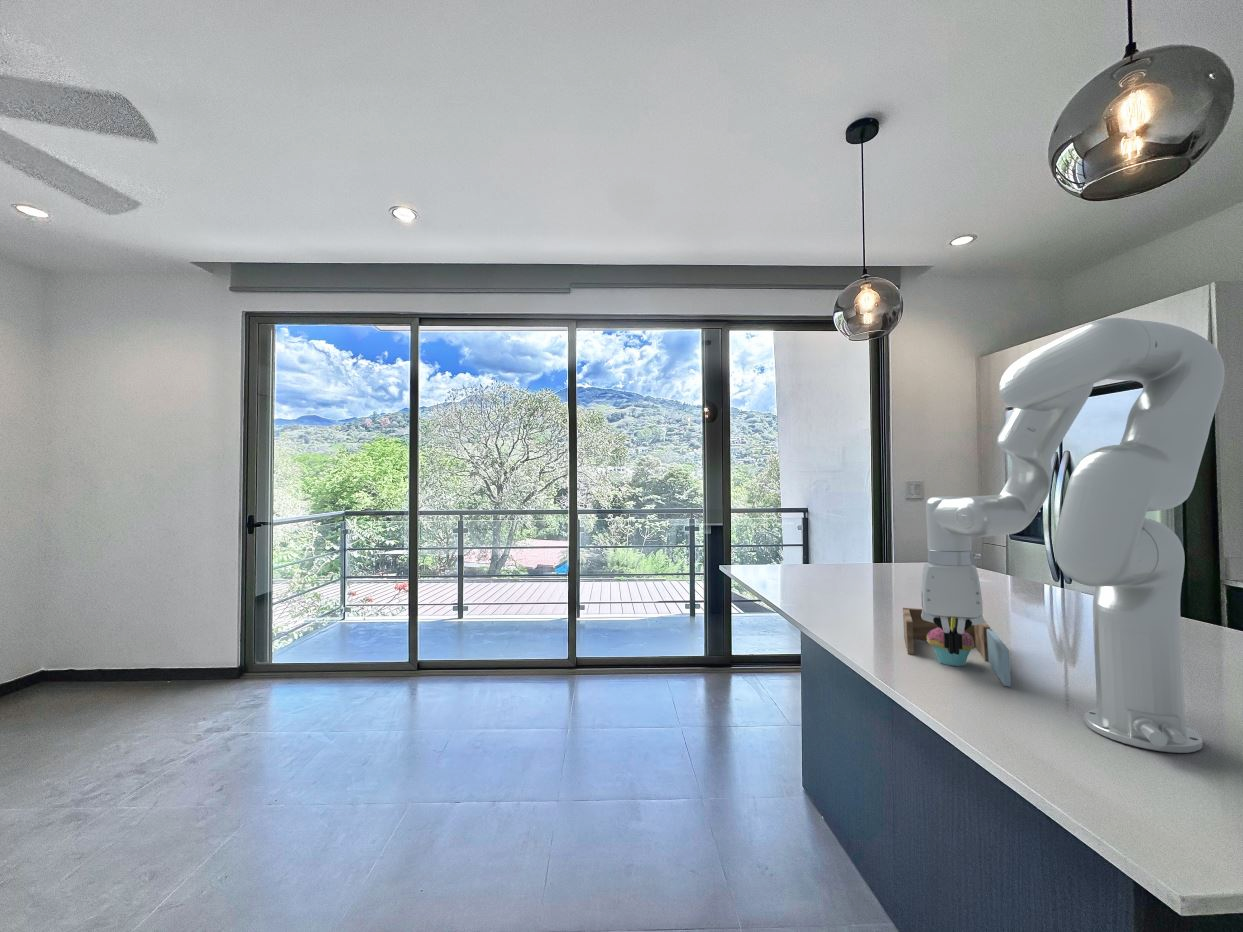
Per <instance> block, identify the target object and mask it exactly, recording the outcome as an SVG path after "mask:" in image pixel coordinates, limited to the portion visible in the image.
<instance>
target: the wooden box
mask: <svg viewBox="0 0 1243 932" xmlns="http://www.w3.org/2000/svg"><path fill="white" fill-rule="evenodd" d="M922 610H923V608H915V607H914V608H913V607H903V608H902V618H903V637H904V638H903V639H904V643H905V644H904V645H905V648H906V653H907V652H908V653H909V654H908V653H907V654H908V655H913V654H914V655H915V648H914V646H915V645H914V640H916V639H917V640H919V641H920V640H921V641H927V634H928V632H930V631H931V630H933V629H935V628H938V626H937V625H936V624H935V623H933V622H929V621H925V620H923V619H922V618H921V614H922ZM947 618H948V623H949V627H951V617H947ZM955 621H956V618H955ZM987 629H991V627H990V625H989V624H988V623H987V621H986V620H985V619H984V624H980V625H972V626H970V627H969V628H968V629H967V630H965V632H967V633H969V634H970V636H972V638H973V640H974V647H975V648H976V650H977V651H978V653H979V654H980V656H981V657H982V659H983V660H984V662H988V663H989V661H988V650H987Z"/></svg>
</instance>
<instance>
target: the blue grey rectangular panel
mask: <svg viewBox="0 0 1243 932" xmlns="http://www.w3.org/2000/svg"><path fill="white" fill-rule="evenodd" d="M987 650H988V661H989V662H988V661H987V662H988V663H989V664H990V666H991V668H992V670H993V671H994V672H995V674H996V675H997V677H998V678H999V680H1000V681H1001V683H1002V684H1003V686H1005V687H1011V686H1012V683H1011V682H1012V680H1011V662H1010V658H1011V657H1010V649H1009V648H1008V647H1007V646H1006V644H1005V643H1004V642H1003V641H1002V639H1001V638H1000V637H999V636H998V635H997V633H996V632H995V631H994V630H993V629H992V628H990V629H987Z"/></svg>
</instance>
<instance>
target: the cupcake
mask: <svg viewBox="0 0 1243 932" xmlns="http://www.w3.org/2000/svg"><path fill="white" fill-rule="evenodd" d="M954 627H955V618H951V627H950V629H951V632H952V631H953V628H954ZM926 641H927V643H928V645H930V646H931V647H933V649H934V652H935V655H936V657H937V661H938V662H939V663H940V664H943V665H946V666H951V667H953V666H954V667H963V666H964V665H966V663H967V659H968V656H969V655H970V652H971V650H973V649H974V648H975V645H974V640H973V638H972V636H970V634H969V633H967V632H965V631H964V633H963V634H962V649H959V655H958V654H955V653H953V654H950V653H949V651H948V648H945V647H944V634H943V630H942V629H941V628H940V627H938V628H935V629H933V630H931V631H930V632H928V634H927V640H926Z"/></svg>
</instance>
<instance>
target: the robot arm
mask: <svg viewBox="0 0 1243 932" xmlns="http://www.w3.org/2000/svg"><path fill="white" fill-rule="evenodd" d="M1225 372H1226V371H1225V364H1224V361H1223V357H1222V355H1221V354H1220V352H1219V350H1218V349H1217V348H1216V347H1215V345H1214V344H1213V343H1212V342H1211V341H1209V340H1208V339H1206V338H1205V337H1203V336H1202V335H1200V334H1199V333H1196V332H1194V331H1192V330H1189V329H1187V328H1184V327H1182V326H1181V327H1180V326H1177V325H1173V324H1170V323H1164V322H1157V321H1150V320H1140V319H1134V318H1125V317H1111V318H1110V317H1109V318H1108V317H1107V318H1103V319H1098V320H1095V321H1093V322H1088V323H1087V324H1085V325H1082V326H1081V327H1079V328H1076V329H1074V330H1072V331H1071V332H1068V333H1066V334H1065V335H1063V336H1060V337H1058V338H1056V339H1055V340H1052V341H1051V342H1049V343H1046V344H1045V345H1043V346H1040V347H1038V348H1036V349H1035V350H1032V351H1031V352H1029V353H1027V354H1025V355H1023V356H1021V357H1020V358H1018V359H1017V360H1015V361H1014V362H1012V363H1011V364H1010V365H1009V366H1008V367H1007V368H1006V370H1005V371H1004V372H1003V374H1002V376H1001V377H1000V381H999V385H998V392H999V396H1000V398H1001V400H1002V402H1003V403H1005V405H1007V406H1009V407H1011V408H1012V410H1011V412H1010V414H1009V415H1008V418H1007V420H1006V421H1005V423H1004V425H1003V426H1002V428H1001V430H1000V432H999V434H998V435H997V438H996V443H997V446H998V447H999V449H1000V450H1001V451H1003V452H1004V453H1005V454H1006V455H1008V456H1009V458H1010V461H1011V469H1010V470H1011V471H1010V475H1009V477H1008V479H1007V481H1006V482H1005V485H1004V486H1003V488H1002V489H1001V491H1000V492H999V494H992V495H989V494H988V495H975V496H974V495H973V496H971V495H970V496H965V497H963V496H956V495H955V496H953V495H952V496H951V495H947V496H946V495H945V496H944V495H943V496H940V495H939V496H932V497H929V498H928V499H927V500H926V503H925V514H926V538H927V539H926V541H927V542H926V543H927V563H924V564H923V567H922V573H921V574H922V575H921V589H920V591H921V596H920V597H921V607H922V608H921V609H923V610H922V614H921V618H922V619H923V620H925V621H929V622H933V623H935V624H936V625H937V626H938V627H940V628H941V629H942V630H943V634H944V647H945V648H948V651H949V653H950V654H953V653H955V654H958V655H959V649H962V634H963V633H964V631H965V630H967V629H968V628H969V627H970V626H972V625H980V624H984V620H985V619H984V616H983V614H984V613H983V611H984V607H983V606H984V605H983V598H982V597H983V595H982V587H981V582H980V577H979V573H978V569H977V566H976V565H974V563H975V562H977V561H981V560H982V559H981V558H982V555H981V553H976V552H973V550H972V538H973V537H974V538H985V537H994V536H1005V535H1008V536H1009V535H1014V534H1017V533H1020V532H1022V531H1023V530H1025V529H1026V528H1027V527H1029V525H1030V524H1031V523H1032V522H1033V520H1034V519H1035V518H1036V516H1037V514H1038V513H1039V511H1040V509H1041V508H1042V507H1043V505H1044V503H1045V502H1046V500H1047V498H1048V496H1049V493H1050V490H1051V486H1052V476H1053V466H1052V460H1053V457H1054V455H1055V453H1056V452H1057V450H1058V448H1059V447H1060V445H1061V444H1062V441H1063V440H1064V439H1065V437H1066V435H1067V433H1068V432H1069V431H1070V428H1071V427H1072V425H1073V423H1075V420H1076V419H1077V417H1078V416H1079V414H1080V412H1081V411H1082V409H1083V407H1084V406H1085V404H1086V402H1087V400H1088V399H1089V397H1090V395H1091V393H1092V391H1093V388H1094V384H1097V383H1098V382H1102V381H1105V380H1111V381H1113V380H1115V381H1128V382H1129V381H1133V382H1134V381H1135V382H1138V383H1139V384H1141V385H1142V387H1143V388H1142V391H1141V393H1140V394H1139V396H1138V397H1137V398H1136V400H1135V402H1134V403H1133V405H1132V406H1131V409H1130V410H1129V413H1128V416H1127V421H1126V424H1125V429H1124V432H1123V435H1122V438H1121V441H1120V442H1119V443H1120V444H1114V445H1112V444H1111V445H1107V446H1102V447H1099V448H1097V449H1094V450H1092V451H1091V452H1089V453H1088V454H1086V455H1085V456H1083V457H1082V458H1081V460H1079V462H1077V464H1076V466H1075V467H1074V468H1073V470H1072V473H1071V474H1070V477H1069V481H1068V483H1067V487H1066V491H1065V495H1064V500H1063V503H1062V506H1061V511H1060V513H1059V514H1060V515H1059V519H1058V522H1057V527H1056V532H1055V536H1054V540H1053V553H1054V558H1055V561H1056V563H1057V565H1058V567H1059V569H1060V570H1061V571H1062V573H1064V575H1065V576H1067V577H1068V578H1069V579H1071V580H1072V581H1074V582H1076V583H1078V584H1081V585H1083V586H1086V587H1087V586H1088V587H1095V588H1094V592H1093V596H1092V597H1093V599H1092V628H1093V629H1092V630H1093V648H1094V649H1093V650H1094V652H1093V653H1094V665H1095V666H1094V669H1095V686H1096V687H1095V688H1096V689H1095V691H1096V692H1095V693H1096V694H1095V695H1096V707H1097V708H1094V709H1090V710H1087V711H1086V712H1085V713H1084V723H1085V724H1086V726H1087V727H1088V728H1089V729H1091V731H1094V732H1095V733H1098V735H1101V736H1104V737H1105V738H1108V739H1111V740H1112V741H1116V742H1119V743H1121V744H1124V745H1125V744H1126V745H1128V746H1133V747H1136V748H1141V749H1146V750H1151V751H1156V752H1157V751H1158V752H1164V753H1177V754H1180V753H1181V754H1184V753H1185V754H1186V753H1194V752H1198V751H1199V750H1201V749H1202V748H1203V745H1204V743H1203V741H1204V740H1203V738H1202V736H1201V734H1200V733H1198V732H1197V731H1196V730H1194V729H1192V728H1191V727H1188V726H1187V723H1186V705H1185V690H1184V689H1185V688H1184V687H1185V686H1184V668H1183V653H1182V651H1183V649H1182V625H1181V623H1182V621H1181V596H1182V595H1181V594H1182V585H1183V584H1182V583H1183V579H1184V573H1185V572H1184V571H1185V563H1186V562H1185V557H1186V556H1185V550H1184V547H1183V544H1182V542H1181V540H1180V537H1178V535H1177V534H1176V532H1174V531H1173V530H1172V529H1171V528H1170V527H1168V526H1167V525H1165V524H1163V523H1161V522H1159V521H1156V520H1155V519H1151V518H1147V517H1146V515H1147V513H1148V512H1159V511H1165V510H1169V509H1170V510H1171V509H1174V508H1176V507H1178V506H1180V505H1182V504H1183V503H1184V502H1185V501H1186V500H1188V498H1189V497H1190V495H1191V493H1192V491H1193V489H1194V486H1195V484H1196V480H1197V476H1198V473H1199V469H1200V465H1201V462H1202V458H1203V455H1204V452H1205V448H1206V445H1207V442H1208V438H1209V434H1210V430H1211V426H1212V422H1213V419H1214V416H1215V413H1216V410H1217V406H1218V404H1219V401H1220V397H1221V395H1222V391H1223V388H1224V384H1225V383H1224V382H1225V374H1226V373H1225ZM947 617H951V618H956V621H955V627H954V628H953V631H952V632H951V629H950V627H949V623H948V618H947Z"/></svg>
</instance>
